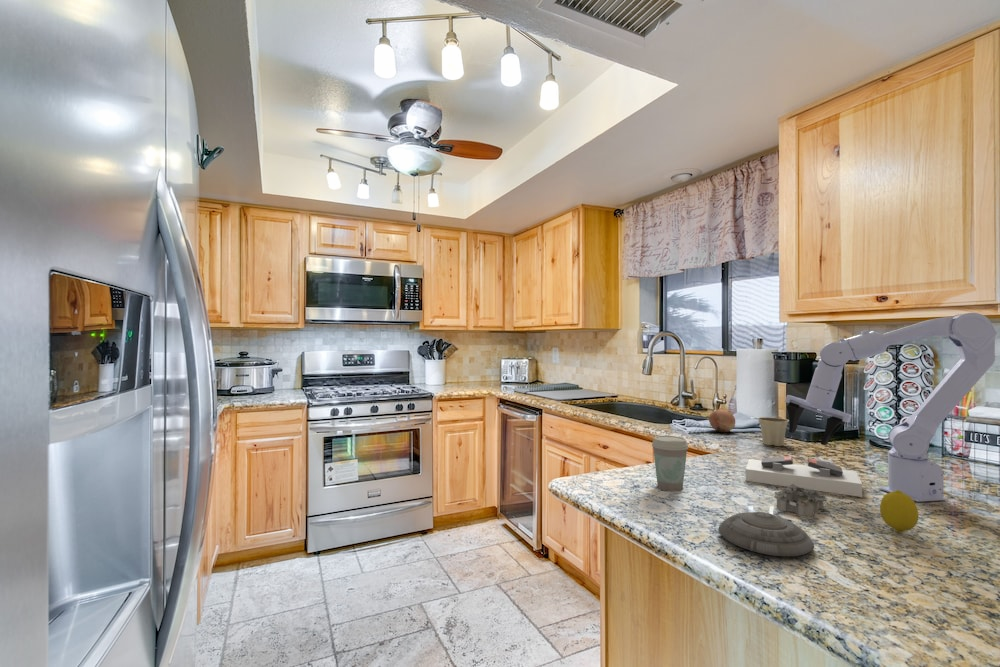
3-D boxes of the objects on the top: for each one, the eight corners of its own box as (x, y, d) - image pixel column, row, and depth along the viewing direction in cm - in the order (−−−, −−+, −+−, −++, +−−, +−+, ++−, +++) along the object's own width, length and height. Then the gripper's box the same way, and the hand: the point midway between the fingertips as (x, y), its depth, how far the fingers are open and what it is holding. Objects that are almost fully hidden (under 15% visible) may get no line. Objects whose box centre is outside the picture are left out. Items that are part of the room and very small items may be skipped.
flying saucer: (705, 544, 86) (705, 513, 86) (735, 521, 96) (735, 494, 96) (801, 573, 75) (800, 538, 75) (823, 544, 85) (823, 513, 85)
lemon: (880, 524, 93) (880, 484, 94) (917, 532, 90) (917, 489, 90) (879, 533, 89) (879, 491, 89) (919, 541, 86) (918, 497, 86)
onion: (718, 437, 190) (716, 413, 195) (741, 434, 183) (738, 409, 188) (705, 431, 185) (703, 406, 190) (728, 428, 178) (726, 402, 183)
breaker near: (839, 473, 119) (841, 466, 119) (841, 479, 115) (843, 471, 114) (806, 464, 122) (808, 457, 122) (807, 468, 118) (809, 461, 118)
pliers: (808, 467, 131) (804, 455, 144) (808, 473, 131) (804, 460, 144) (852, 472, 126) (844, 459, 139) (853, 478, 126) (844, 464, 139)
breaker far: (793, 462, 124) (791, 455, 124) (793, 467, 120) (791, 459, 120) (763, 464, 128) (762, 457, 128) (762, 469, 123) (761, 461, 124)
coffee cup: (648, 489, 115) (648, 440, 115) (655, 480, 123) (654, 433, 123) (686, 495, 111) (686, 443, 111) (690, 485, 119) (690, 437, 119)
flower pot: (764, 440, 171) (764, 416, 171) (793, 444, 164) (793, 419, 164) (753, 443, 165) (752, 419, 165) (782, 448, 158) (782, 422, 158)
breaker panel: (856, 483, 120) (856, 464, 120) (862, 496, 110) (862, 476, 110) (749, 469, 132) (749, 452, 133) (745, 480, 122) (745, 462, 122)
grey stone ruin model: (809, 519, 97) (809, 499, 97) (770, 508, 103) (770, 490, 103) (829, 508, 103) (829, 489, 103) (792, 498, 109) (792, 480, 109)
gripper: (786, 379, 124) (771, 427, 126) (850, 397, 113) (833, 451, 115) (798, 379, 129) (783, 427, 131) (860, 398, 117) (843, 449, 119)
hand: (807, 438), depth 123 cm, fingers open, 7 cm apart
